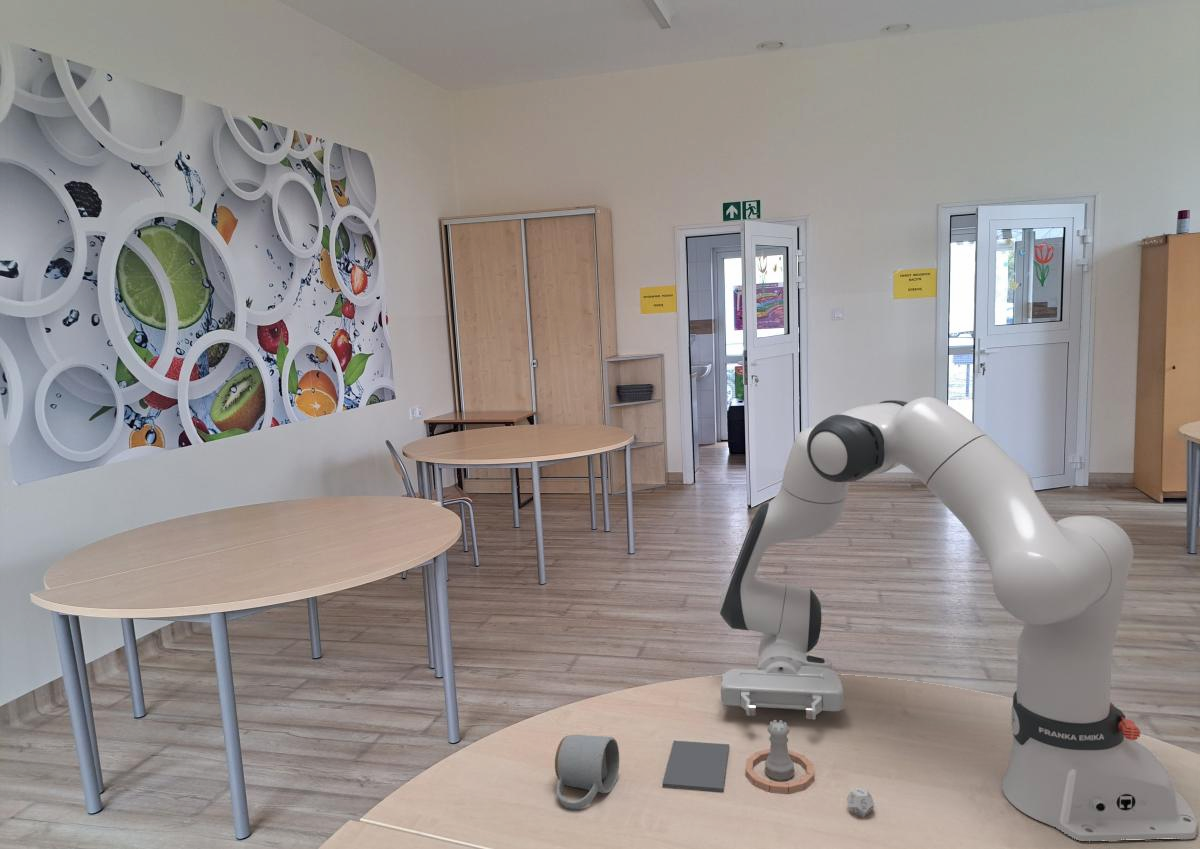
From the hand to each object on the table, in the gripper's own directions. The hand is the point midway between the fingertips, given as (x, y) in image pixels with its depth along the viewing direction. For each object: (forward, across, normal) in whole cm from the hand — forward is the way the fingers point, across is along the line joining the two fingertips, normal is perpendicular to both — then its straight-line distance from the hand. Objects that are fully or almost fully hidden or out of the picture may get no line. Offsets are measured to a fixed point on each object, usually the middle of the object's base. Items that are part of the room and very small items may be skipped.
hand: (780, 713), depth 129 cm
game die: (+17, +11, +5) cm, 21 cm away
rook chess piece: (+9, 0, +5) cm, 10 cm away
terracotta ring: (+9, 0, +5) cm, 10 cm away
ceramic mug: (+17, -28, +5) cm, 33 cm away
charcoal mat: (+9, -13, +5) cm, 16 cm away
